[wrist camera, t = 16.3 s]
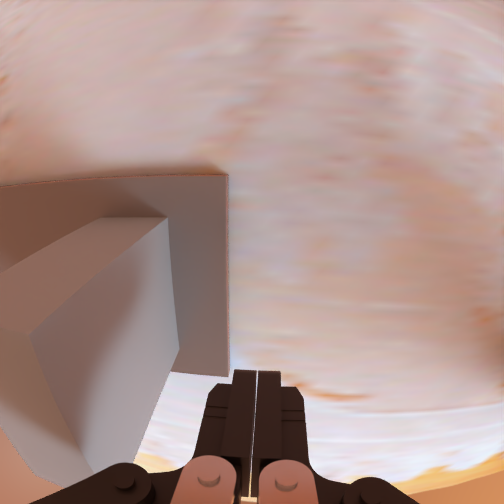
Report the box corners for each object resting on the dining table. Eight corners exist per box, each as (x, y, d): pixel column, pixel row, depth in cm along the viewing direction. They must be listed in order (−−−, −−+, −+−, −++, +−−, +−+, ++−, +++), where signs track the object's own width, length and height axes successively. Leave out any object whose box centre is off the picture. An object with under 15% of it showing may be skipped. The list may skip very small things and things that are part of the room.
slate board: (228, 174, 16) (226, 176, 15) (229, 369, 20) (228, 377, 19) (-29, 190, 17) (-36, 192, 16) (2, 330, 21) (-3, 335, 20)
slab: (98, 217, 16) (-58, 309, 6) (167, 217, 16) (28, 334, 6) (118, 341, 19) (32, 473, 9) (179, 348, 19) (116, 505, 8)
